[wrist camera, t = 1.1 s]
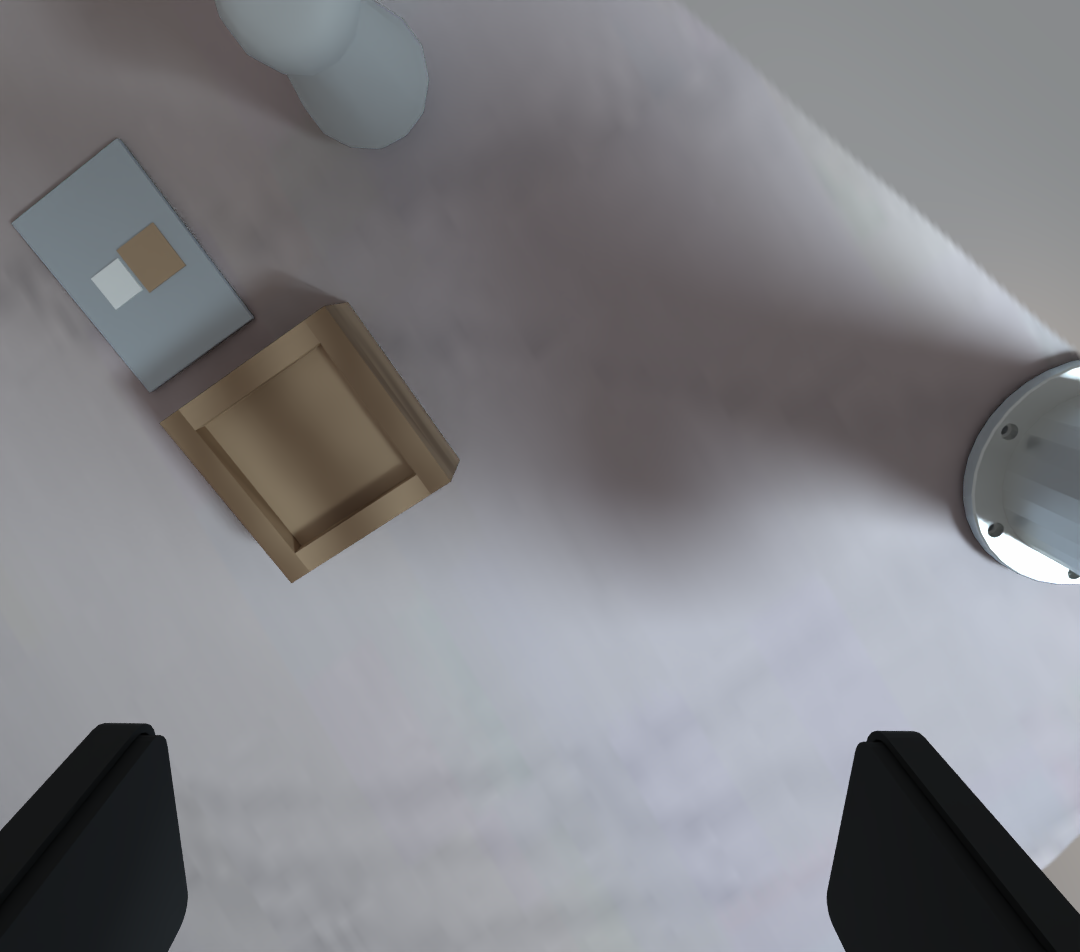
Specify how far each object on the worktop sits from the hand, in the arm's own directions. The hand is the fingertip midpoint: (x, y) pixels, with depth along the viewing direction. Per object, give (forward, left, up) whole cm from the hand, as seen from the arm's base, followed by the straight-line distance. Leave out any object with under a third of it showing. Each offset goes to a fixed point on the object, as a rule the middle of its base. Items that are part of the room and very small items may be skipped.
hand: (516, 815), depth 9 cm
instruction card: (+13, -17, -29) cm, 36 cm away
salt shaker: (-2, -17, -29) cm, 34 cm away
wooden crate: (+10, -5, -29) cm, 31 cm away
